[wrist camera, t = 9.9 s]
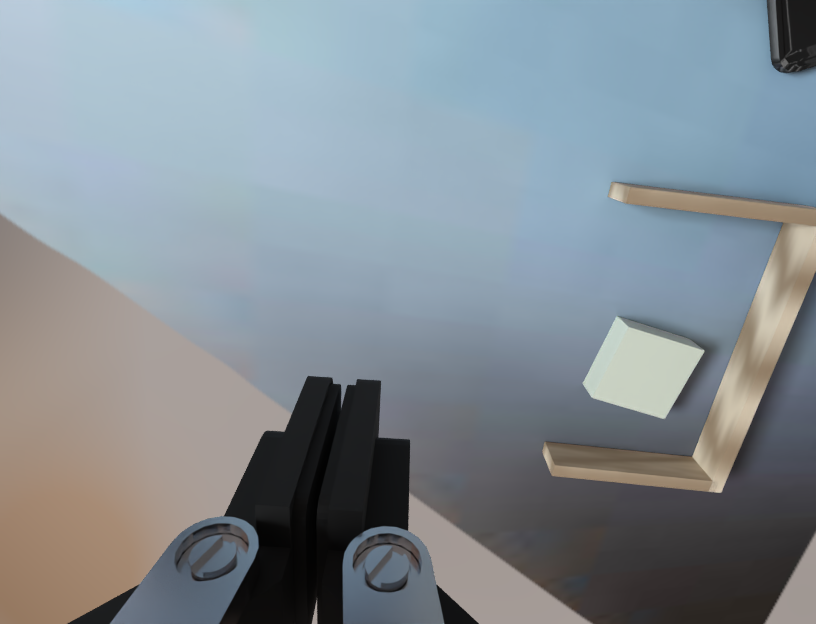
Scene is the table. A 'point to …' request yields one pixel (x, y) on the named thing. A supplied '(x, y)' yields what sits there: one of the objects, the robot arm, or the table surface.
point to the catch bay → (750, 362)
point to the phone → (792, 34)
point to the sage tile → (642, 367)
